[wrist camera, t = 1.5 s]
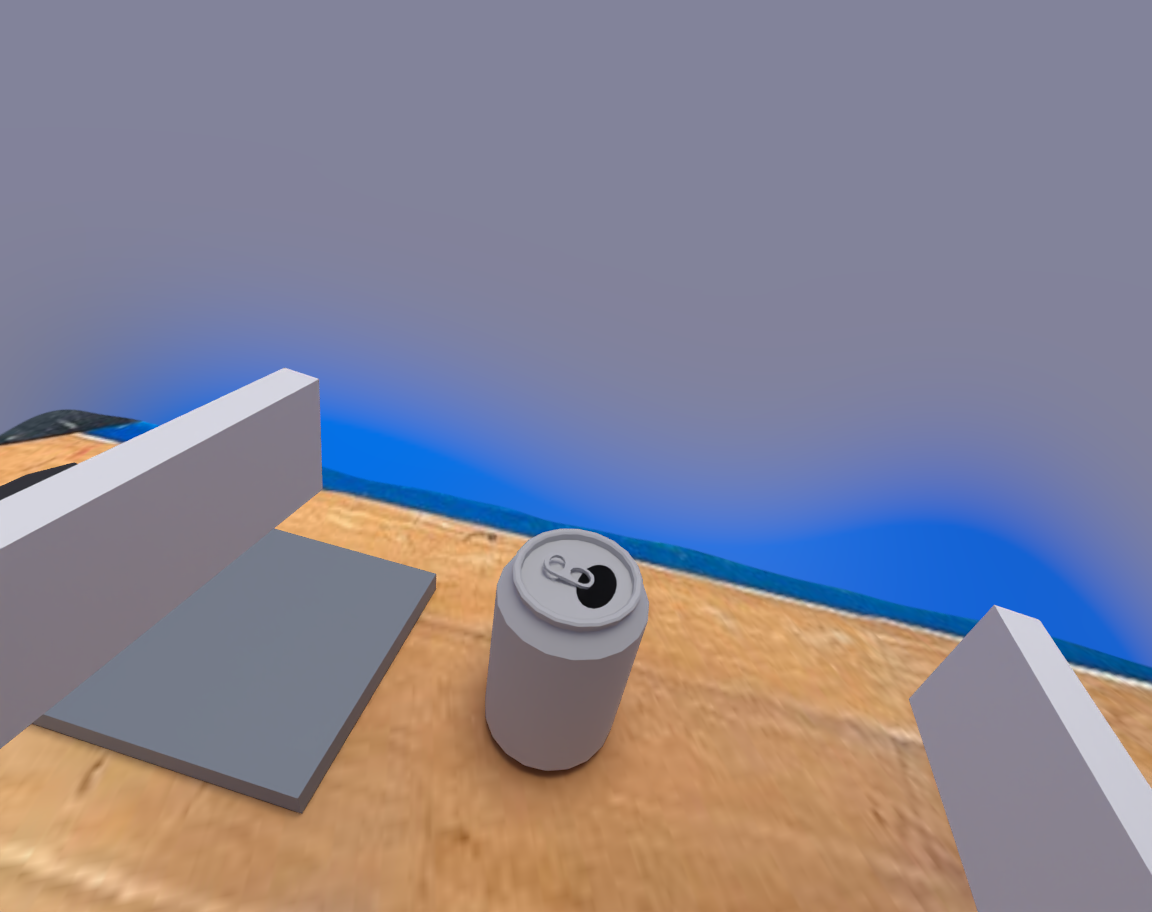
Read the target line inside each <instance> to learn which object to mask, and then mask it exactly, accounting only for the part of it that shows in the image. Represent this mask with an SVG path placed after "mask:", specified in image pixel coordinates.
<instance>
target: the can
mask: <svg viewBox="0 0 1152 912" xmlns="http://www.w3.org/2000/svg"><path fill="white" fill-rule="evenodd" d="M648 608H649V601H648V598H647V595H646V592H645V589H644V586H643V579H642V576H641V573H640V570H639V567H638V565H637V564H636V562H635V561H634V560H633V558H632V557H631V556H630V554H629V553H628V552H627V551H626V550H625V549H623V548H622V547H621V546H619V545H618V544H617V543H615V542H614V541H613V540H610V539H608V538H606V537H604V536H602V535H600V534H597V533H594V532H589V531H585V530H581V529H557V530H553V531H548V532H543V533H541V534H539V535H537V536H535V537H534V538H532V539H530V540H528V541H527V542H526V543H525V544H524V545H523V546H522V547H521V548H520V550H519V551H518V552H517V555H516V556H515V557H514V558H513V559H512V560H511V561H510V562H509V563H508V564H507V565H506V566H505V567H504V568H503V571H502V574H501V576H500V579H499V581H498V584H497V590H496V599H495V609H494V619H493V628H492V638H491V648H490V657H489V667H488V677H487V687H486V696H485V714H486V720H487V723H488V726H489V728H490V731H491V734H492V737H493V738H494V739H495V740H496V742H497V743H498V744H499V745H500V747H501V748H502V749H503V750H504V752H505V753H506V754H508V755H509V756H511V757H512V758H514V759H515V760H517V761H518V762H520V763H522V764H523V765H525V766H529V767H533V768H537V769H541V770H545V771H552V770H564V769H570V768H572V767H574V766H577V765H579V764H581V763H583V762H586V761H588V760H589V759H590V758H591V757H592V756H593V755H594V754H595V753H596V752H597V751H598V750H599V749H600V748H601V747H602V746H603V744H604V742H605V740H606V738H607V736H608V734H609V732H610V730H611V727H612V724H613V721H614V718H615V715H616V712H617V709H618V706H619V704H620V701H621V698H622V695H623V692H624V689H625V686H626V683H627V680H628V677H629V674H630V671H631V668H632V665H633V662H634V659H635V656H636V654H637V651H638V648H639V645H640V642H641V639H642V636H643V633H644V630H645V627H646V624H647V621H648Z"/></svg>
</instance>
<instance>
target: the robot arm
mask: <svg viewBox="0 0 1152 912" xmlns="http://www.w3.org/2000/svg"><path fill="white" fill-rule="evenodd" d="M319 398H320V397H319V379H317V378H314V377H311V376H308V375H305V374H302V373H299V372H296V371H293V370H290V369H287V368H283V369H281V370H279V371H277V372H274V373H272V374H270V375H268V376H266V377H264V378H262V379H259V380H257V381H255V382H253V383H251V384H249V385H247V386H244V387H242V388H240V389H238V390H236V391H234V392H232V393H229V394H227V395H225V396H223V397H221V398H219V399H217V400H214V401H212V402H210V403H208V404H206V405H204V406H202V407H199V408H197V409H195V410H193V411H191V412H189V413H187V414H185V415H182V416H180V417H178V418H176V419H174V420H172V421H169V422H167V423H165V424H163V425H161V426H159V427H157V428H154V429H152V430H150V431H148V432H146V433H144V434H142V435H139V436H137V437H135V438H133V439H131V440H129V441H127V442H124V443H122V444H120V445H118V446H116V447H114V448H112V449H109V450H107V451H105V452H103V453H101V454H99V455H97V456H94V457H92V458H90V459H88V460H86V461H84V462H82V463H79V464H77V463H70V464H66V465H63V466H59V467H55V468H51V469H47V470H43V471H39V472H35V473H31V474H27V475H25V476H22V477H20V478H18V479H16V480H14V481H11V482H9V483H7V484H5V485H2V486H0V749H1V748H2V747H3V746H4V745H6V744H7V743H8V742H9V741H10V740H12V739H13V738H14V737H15V736H17V735H18V734H19V733H20V732H22V731H23V730H24V729H25V728H27V727H28V726H29V725H30V724H32V723H33V722H34V721H35V720H37V719H38V718H39V717H40V716H42V715H43V714H44V713H45V712H47V711H48V710H49V709H50V708H51V707H53V706H54V705H55V704H56V703H58V702H59V701H60V700H61V699H63V698H64V697H65V696H66V695H68V694H69V693H70V692H71V691H73V690H74V689H75V688H76V687H78V686H79V685H80V684H81V683H83V682H84V681H85V680H86V679H87V678H89V677H90V676H91V675H92V674H94V673H95V672H96V671H97V670H99V669H100V668H101V667H102V666H104V665H105V664H106V663H107V662H109V661H110V660H111V659H112V658H114V657H115V656H116V655H117V654H119V653H120V652H121V651H122V650H123V649H125V648H126V647H127V646H128V645H130V644H131V643H132V642H133V641H135V640H136V639H137V638H138V637H140V636H141V635H142V634H143V633H145V632H146V631H147V630H148V629H150V628H151V627H152V626H153V625H155V624H156V623H157V622H158V621H159V620H161V619H162V618H163V617H164V616H166V615H167V614H168V613H169V612H171V611H172V610H173V609H174V608H176V607H177V606H178V605H179V604H181V603H182V602H183V601H184V600H186V599H187V598H188V597H189V596H191V595H192V594H193V593H194V592H195V591H197V590H198V589H199V588H200V587H202V586H203V585H204V584H205V583H207V582H208V581H209V580H210V579H212V578H213V577H214V576H215V575H217V574H218V573H219V572H220V571H222V570H223V569H224V568H225V567H227V566H228V565H229V564H230V563H231V562H233V561H234V560H235V559H236V558H238V557H239V556H240V555H241V554H243V553H244V552H245V551H246V550H248V549H249V548H250V547H251V546H253V545H254V544H255V543H256V542H258V541H259V540H260V539H261V538H263V537H264V536H265V535H266V534H267V533H269V532H270V531H271V530H272V529H274V528H275V527H276V526H277V525H279V524H280V523H281V522H282V521H284V520H285V519H286V518H287V517H289V516H290V515H291V514H292V513H294V512H295V511H296V510H297V509H299V508H300V507H301V506H302V505H303V504H305V503H306V502H307V501H308V500H310V499H311V498H312V497H313V496H315V495H316V494H317V493H318V492H320V491H321V490H322V463H321V431H320V399H319ZM909 701H910V704H911V707H912V710H913V713H914V716H915V719H916V722H917V725H918V728H919V731H920V735H921V738H922V741H923V744H924V747H925V750H926V753H927V756H928V759H929V762H930V765H931V768H932V772H933V775H934V778H935V781H936V784H937V787H938V790H939V793H940V796H941V799H942V802H943V805H944V809H945V812H946V815H947V818H948V821H949V824H950V827H951V830H952V833H953V836H954V839H955V842H956V845H957V849H958V852H959V855H960V858H961V861H962V864H963V867H964V870H965V873H966V876H967V879H968V882H969V886H970V889H971V892H972V895H973V898H974V901H975V904H976V907H977V910H978V912H1152V789H1151V787H1150V786H1149V784H1148V783H1147V781H1146V780H1145V778H1144V777H1143V775H1142V774H1141V772H1140V771H1139V769H1138V768H1137V766H1136V765H1135V763H1134V762H1133V760H1132V759H1131V757H1130V756H1129V754H1128V753H1127V751H1126V750H1125V748H1124V747H1123V745H1122V744H1121V742H1120V741H1119V739H1118V738H1117V736H1116V735H1115V733H1114V732H1113V730H1112V729H1111V727H1110V726H1109V724H1108V723H1107V721H1106V720H1105V718H1104V717H1103V715H1102V714H1101V712H1100V711H1099V709H1098V708H1097V706H1096V704H1095V703H1094V701H1093V700H1092V698H1091V697H1090V695H1089V694H1088V692H1087V691H1086V689H1085V688H1084V686H1083V685H1082V683H1081V682H1080V680H1079V679H1078V677H1077V676H1076V674H1075V673H1074V671H1073V670H1072V668H1071V667H1070V665H1069V664H1068V662H1067V661H1066V659H1065V658H1064V656H1063V655H1062V653H1061V652H1060V650H1059V649H1058V647H1057V646H1056V644H1055V643H1054V641H1053V640H1052V638H1051V637H1050V635H1049V634H1048V632H1047V631H1046V629H1045V628H1044V626H1043V625H1042V623H1041V622H1040V620H1038V619H1035V618H1032V617H1029V616H1025V615H1023V614H1020V613H1017V612H1014V611H1011V610H1008V609H1005V608H1002V607H999V606H996V605H994V606H993V607H992V608H991V609H990V610H989V611H988V612H987V614H986V615H985V616H984V617H983V618H982V619H981V620H980V621H979V622H978V623H977V624H976V626H975V627H974V628H973V629H972V630H971V631H970V632H969V633H968V634H967V635H966V637H965V638H964V639H963V640H962V641H961V642H960V643H959V644H958V645H957V646H956V648H955V649H954V650H953V651H952V652H951V653H950V654H949V655H948V656H947V657H946V659H945V660H944V661H943V662H942V663H941V664H940V665H939V666H938V667H937V669H936V670H935V671H934V672H933V673H932V674H931V675H930V676H929V677H928V678H927V680H926V681H925V682H924V683H923V684H922V685H921V686H920V687H919V688H918V689H917V691H916V692H915V693H914V694H913V695H912V696H911V697H910V698H909Z"/></svg>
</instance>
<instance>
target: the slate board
mask: <svg viewBox="0 0 1152 912" xmlns="http://www.w3.org/2000/svg"><path fill="white" fill-rule="evenodd" d="M435 589H436V574H434V573H431V572H427V571H424V570H420V569H417V568H413V567H409V566H406V565H402V564H399V563H395V562H392V561H388V560H384V559H381V558H377V557H374V556H370V555H366V554H363V553H359V552H356V551H352V550H349V549H345V548H341V547H338V546H334V545H331V544H327V543H324V542H320V541H316V540H313V539H309V538H306V537H302V536H299V535H295V534H291V533H288V532H284V531H281V530H277V529H272V530H271V531H270V532H269V533H267V534H266V535H265V536H264V537H263V538H261V539H260V540H259V541H258V542H256V543H255V544H254V545H253V546H251V547H250V548H249V549H248V550H246V551H245V552H244V553H243V554H241V555H240V556H239V557H238V558H236V559H235V560H234V561H233V562H231V563H230V564H229V565H228V566H227V567H225V568H224V569H223V570H222V571H220V572H219V573H218V574H217V575H215V576H214V577H213V578H212V579H210V580H209V581H208V582H207V583H205V584H204V585H203V586H202V587H200V588H199V589H198V590H197V591H195V592H194V593H193V594H192V595H191V596H189V597H188V598H187V599H186V600H184V601H183V602H182V603H181V604H179V605H178V606H177V607H176V608H174V609H173V610H172V611H171V612H169V613H168V614H167V615H166V616H164V617H163V618H162V619H161V620H159V621H158V622H157V623H156V624H155V625H153V626H152V627H151V628H150V629H148V630H147V631H146V632H145V633H143V634H142V635H141V636H140V637H138V638H137V639H136V640H135V641H133V642H132V643H131V644H130V645H128V646H127V647H126V648H125V649H123V650H122V651H121V652H120V653H119V654H117V655H116V656H115V657H114V658H112V659H111V660H110V661H109V662H107V663H106V664H105V665H104V666H102V667H101V668H100V669H99V670H97V671H96V672H95V673H94V674H92V675H91V676H90V677H89V678H87V679H86V680H85V681H84V682H83V683H81V684H80V685H79V686H78V687H76V688H75V689H74V690H73V691H71V692H70V693H69V694H68V695H66V696H65V697H64V698H63V699H61V700H60V701H59V702H58V703H56V704H55V705H54V706H53V707H51V708H50V709H49V710H48V711H47V712H45V713H44V714H43V715H42V716H40V717H39V718H38V719H37V720H35V721H34V722H33V723H32V724H35V725H38V726H41V727H44V728H47V729H50V730H53V731H56V732H59V733H62V734H65V735H68V736H71V737H74V738H77V739H80V740H83V741H86V742H89V743H92V744H95V745H98V746H101V747H104V748H107V749H110V750H113V751H116V752H119V753H122V754H125V755H128V756H131V757H134V758H137V759H140V760H143V761H146V762H149V763H152V764H155V765H158V766H161V767H164V768H167V769H170V770H173V771H176V772H179V773H182V774H185V775H188V776H191V777H194V778H197V779H200V780H203V781H206V782H209V783H212V784H215V785H218V786H221V787H224V788H227V789H230V790H233V791H236V792H239V793H242V794H245V795H248V796H251V797H254V798H257V799H260V800H263V801H266V802H269V803H272V804H275V805H278V806H281V807H284V808H287V809H290V810H293V811H296V812H299V813H302V812H303V811H304V809H305V807H306V806H307V804H308V802H309V801H310V799H311V797H312V796H313V794H314V792H315V791H316V789H317V787H318V786H319V784H320V782H321V781H322V779H323V777H324V776H325V774H326V772H327V770H328V769H329V767H330V765H331V764H332V762H333V760H334V759H335V757H336V755H337V754H338V752H339V750H340V749H341V747H342V745H343V744H344V742H345V740H346V739H347V737H348V735H349V734H350V732H351V730H352V729H353V727H354V725H355V724H356V722H357V720H358V719H359V717H360V715H361V714H362V712H363V710H364V708H365V707H366V705H367V703H368V702H369V700H370V698H371V697H372V695H373V693H374V692H375V690H376V688H377V687H378V685H379V683H380V682H381V680H382V678H383V677H384V675H385V673H386V672H387V670H388V668H389V667H390V665H391V663H392V662H393V660H394V658H395V657H396V655H397V653H398V651H399V650H400V648H401V646H402V645H403V643H404V641H405V640H406V638H407V636H408V635H409V633H410V631H411V630H412V628H413V626H414V625H415V623H416V621H417V620H418V618H419V616H420V615H421V613H422V611H423V610H424V608H425V606H426V605H427V603H428V601H429V600H430V598H431V596H432V595H433V593H434V591H435Z"/></svg>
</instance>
